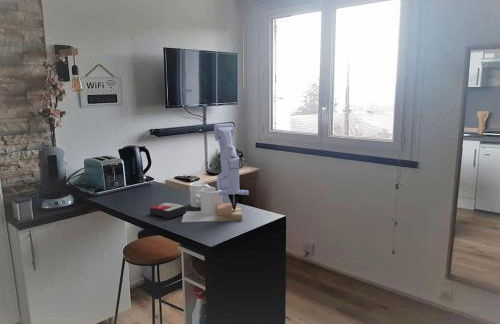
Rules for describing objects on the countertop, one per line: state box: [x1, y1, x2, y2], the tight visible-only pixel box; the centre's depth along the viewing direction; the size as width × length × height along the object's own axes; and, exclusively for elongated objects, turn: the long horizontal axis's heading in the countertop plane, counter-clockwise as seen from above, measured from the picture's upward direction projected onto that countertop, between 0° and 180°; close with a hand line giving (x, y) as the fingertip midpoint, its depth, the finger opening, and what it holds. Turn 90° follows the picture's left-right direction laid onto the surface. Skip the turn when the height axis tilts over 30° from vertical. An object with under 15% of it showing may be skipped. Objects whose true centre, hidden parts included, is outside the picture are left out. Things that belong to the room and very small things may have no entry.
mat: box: [181, 210, 218, 224], centre depth 195 cm, size 16×16×1 cm
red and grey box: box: [149, 202, 187, 220], centre depth 200 cm, size 11×4×15 cm
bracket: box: [189, 181, 222, 214], centre depth 208 cm, size 25×10×12 cm, turn 30°
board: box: [216, 205, 243, 222], centre depth 196 cm, size 16×12×2 cm
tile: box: [217, 203, 232, 214], centre depth 196 cm, size 10×7×2 cm
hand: (234, 209), depth 196 cm, fingers closed
